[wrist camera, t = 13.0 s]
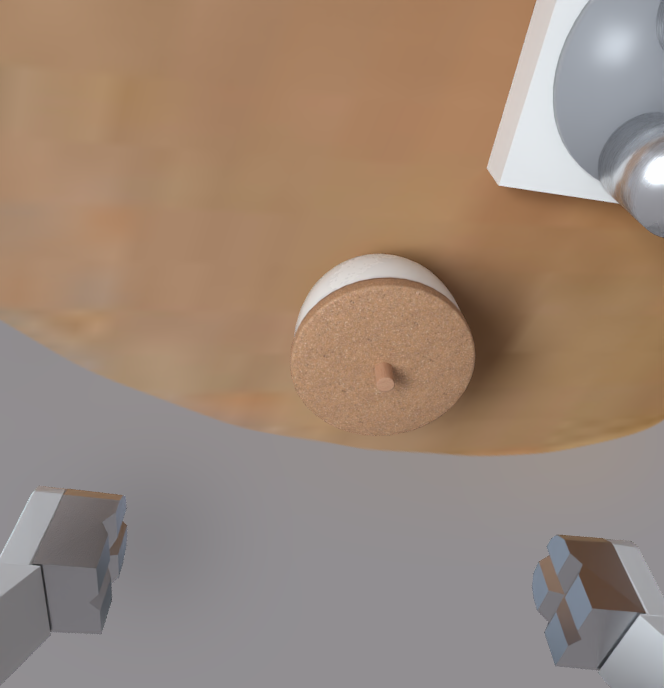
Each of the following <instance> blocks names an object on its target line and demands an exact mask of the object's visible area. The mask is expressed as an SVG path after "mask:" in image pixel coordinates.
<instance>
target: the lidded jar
mask: <svg viewBox="0 0 664 688" xmlns="http://www.w3.org/2000/svg"><path fill="white" fill-rule="evenodd" d="M475 357H476V354H475V344H474V340H473V337H472V333H471V330H470V328H469V326H468V324H467V322H466V320H465V318H464V316H463V314H462V313H461V311H460V309H459V307H458V305H457V303H456V301H455V299H454V297H453V296H452V295H451V293H450V292H449V290H448V289H447V288H446V286H445V285H444V284H443V283H442V282H441V281H440V280H439V279H438V278H437V277H436V276H435V275H434V274H433V273H432V272H431V271H429V270H428V269H427V268H425V267H423V266H422V265H420V264H419V263H416V262H414V261H411V260H409V259H407V258H404V257H400V256H396V255H390V254H368V255H362V256H358V257H355V258H352V259H349V260H346V261H344V262H342V263H340V264H338V265H337V266H335V267H334V268H332V269H331V270H330V271H328V272H327V273H326V274H324V275H323V276H322V277H321V278H320V279H319V280H318V281H317V282H316V284H315V285H314V286H313V288H312V289H311V290H310V292H309V294H308V295H307V297H306V299H305V301H304V303H303V305H302V307H301V310H300V313H299V316H298V320H297V323H296V327H295V334H294V340H293V343H292V349H291V359H290V366H291V376H292V380H293V383H294V386H295V389H296V390H297V392H298V394H299V396H300V398H301V399H302V401H303V402H304V403H305V405H306V406H307V407H308V408H309V409H310V410H311V411H312V412H313V413H314V414H315V415H317V416H318V417H320V418H321V419H322V420H324V421H325V422H327V423H329V424H331V425H333V426H335V427H337V428H339V429H342V430H345V431H349V432H352V433H357V434H362V435H375V436H377V435H393V434H399V433H404V432H407V431H411V430H415V429H417V428H419V427H422V426H424V425H426V424H428V423H430V422H432V421H434V420H435V419H437V418H439V417H440V416H441V415H443V414H444V413H445V412H446V411H448V410H449V409H450V408H451V407H452V406H453V405H454V404H455V403H456V402H457V401H458V400H459V398H460V397H461V396H462V394H463V393H464V391H465V390H466V388H467V386H468V384H469V382H470V380H471V377H472V374H473V371H474V366H475Z"/></svg>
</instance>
